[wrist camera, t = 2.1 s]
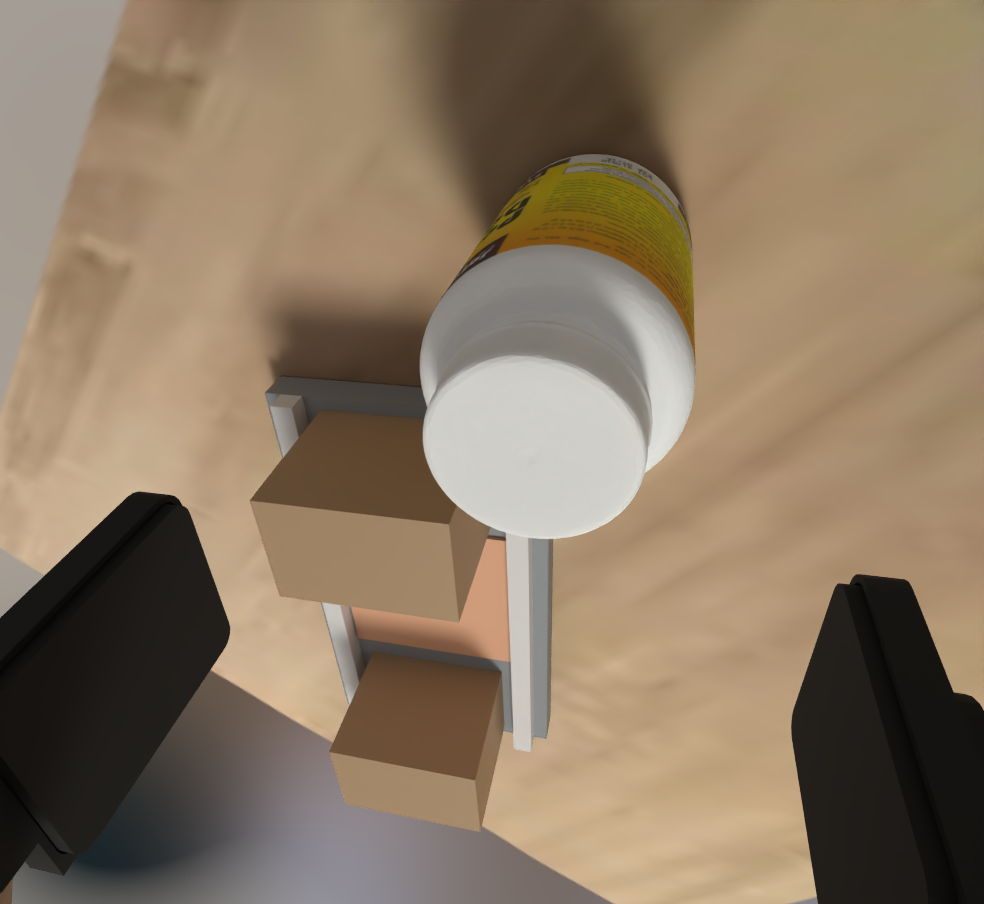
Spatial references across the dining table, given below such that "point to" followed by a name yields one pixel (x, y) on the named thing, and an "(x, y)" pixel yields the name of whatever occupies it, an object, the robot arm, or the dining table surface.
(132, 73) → the dining table surface
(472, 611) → the rail
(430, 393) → the supplement bottle
